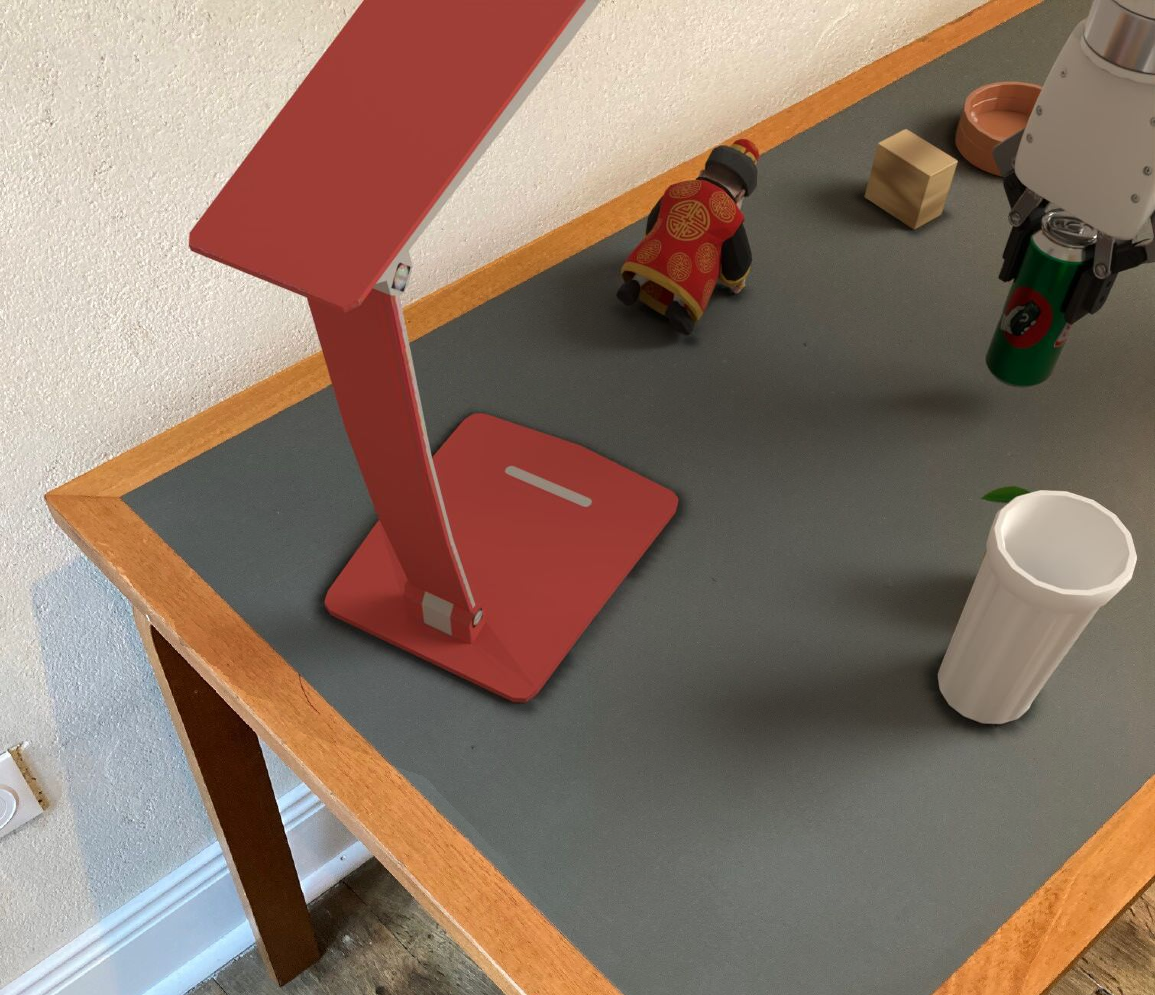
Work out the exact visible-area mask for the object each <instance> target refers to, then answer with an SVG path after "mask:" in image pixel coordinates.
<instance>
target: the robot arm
mask: <svg viewBox="0 0 1155 995" xmlns="http://www.w3.org/2000/svg"><path fill="white" fill-rule="evenodd" d="M1042 87H1043V88H1042V90H1041V92H1040V94H1039V96H1038V98H1037V101H1036V103H1035V106H1034V108H1033V110H1032V113H1031V115H1030V117H1029V120H1028V123H1027V125H1026V127H1024V128H1023V129H1021V130H1020V131H1018V132H1017V133H1015V134H1013V135H1012V136H1010V137H1009V138H1007V139H1005V140H1004V141H1002V142H1001V143H999V144H997V145H996V146H995V147H994V148H993V157H994V159H995V162H996V164H997V166H998V169H999V171H1000V174H1001V176H1000V177H1002V176H1003V184H1002V185H1003V186H1002V187H1003V189H1004V193H1005V195H1006V198H1007V201H1008V205H1009V208H1010V211H1009V212H1008V216H1007V217H1008V223H1009V224H1010V225H1011V226H1012V227H1011V230H1010V232H1009V235H1008V238H1007V241H1006V244H1005V247H1004V251H1003V253H1002V259H1003V263H1002V265H1001V268H1000V271H999V274H998V280H1000V281H1001V282H1003V283H1009V282H1011V281H1013V280H1014V277H1015V275H1016V272H1017V269H1018V266H1019V264H1020V261H1021V258H1022V256H1023V253H1024V250H1025V247H1026V245H1027V242H1028V239H1029V237H1030V234H1031V231H1032V229H1033V228H1034V226H1035V225H1037V224H1038V223H1039V222H1040V221H1041V220H1042V218H1043V216H1044V215H1045V214H1046V213H1047V212H1046V211H1047V209H1048V208H1049V207H1050V206H1051V204H1053V205H1054V206H1056V207H1057V208H1059V207H1060V208H1061V209H1063V210H1065V211H1066V212H1068V213H1070V214H1072V215H1073V216H1075V217H1077V218H1078V219H1080V220H1082V221H1084V222H1085V223H1087V224H1089V225H1090V226H1092V227H1094V228H1095V229H1097V230H1098V231H1097V239H1096V247H1095V255H1094V263H1093V266H1091V267H1090V268H1088V269H1087V270H1085V271H1084V272H1083V273H1082V275H1081V277H1080V279H1079V281H1078V284H1077V286H1076V288H1075V291H1074V293H1073V296H1072V298H1071V300H1070V303H1069V305H1068V307H1067V310H1066V312H1065V315H1064V318H1065V322H1067V323H1069V324H1070V325H1072V324H1073V325H1074V324H1075V323H1076V322H1078V321H1079V320H1081V319H1082V318H1084V317H1086V316H1087V315H1089V314H1090V315H1094V314H1095V313H1097V312H1098V311H1099V310H1101V309H1102V308H1103V306H1104V305H1105V304H1106V302H1107V299H1108V297H1109V295H1110V293H1111V290H1112V289H1113V286H1114V284H1115V282H1116V280H1117V277H1118V275H1119V273H1121V272H1124V271H1128V270H1130V269H1135V268H1138V267H1139V266H1141V265H1145V264H1152V263H1155V0H1093V1H1092V3H1091V6H1090V8H1089V12H1088V15H1087V16H1086V17H1085V18H1084V19H1082V20H1081V21H1079V22H1078V23H1077V24H1076V25H1075V26H1074V28H1073V30H1072V32H1071V33H1070V35H1069V36H1068V38H1067V40H1066V42H1065V43H1064V45H1063V47H1062V48H1061V50H1060V52H1059V54H1058V56H1057V57H1056V60H1055V61H1054V63H1053V64H1052V67H1051V69H1050V71H1049V73H1048V74H1047V77H1046V79H1045V81H1044V84H1043V85H1042ZM1149 219H1150V223H1151V224H1150V225H1151V229H1152V233H1153V238H1145V239H1141V240H1138V234H1139V232H1140V231H1141V229H1142V227H1143V226H1144V225H1145V224H1147V222H1148V221H1149ZM1137 240H1138V241H1137Z"/></svg>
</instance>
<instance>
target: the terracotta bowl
mask: <svg viewBox="0 0 1155 995" xmlns="http://www.w3.org/2000/svg"><path fill="white" fill-rule="evenodd" d="M1042 88H1043V85H1042V86H1040V85H1038V84H1035V83H1030V82H1029V83H1028V82H1023V81H997V82H993V83H989V84H988V83H987V84H984V85H982V86H981V87H980V86H979V87H978V88H976V89H974V90H972V91H971V93H970V94H968V96H967V97H966V98H965V99H964V103H963V106H962V110H961V113H960V116H959V119H958V123H957V126H956V131H955V135H954V143H955V146H956V148H957V150H958V152H959V154H960V155H961V156H962V157H963V158H964V159H965V160H966V161H967V162H969V164H971V165H972V166H974V167H976V168H977V169H980V170H982V171H983V172H987V173H989V174H991V175H995V176H998V177H1003V176H1001V174H1000V171H999V169H998V166H997V164H996V162H995V159H994V157H993V148H994V147H995V146H996V145H997V144H999V143H1001V142H1002V141H1004V140H1005V139H1007V138H1009V137H1010V136H1012V135H1013V134H1015V133H1017V132H1018V131H1020V130H1021V129H1023V128H1024V127H1026V125H1027V123H1028V120H1029V117H1030V115H1031V113H1032V110H1033V108H1034V106H1035V103H1036V101H1037V98H1038V96H1039V94H1040V92H1041V90H1042ZM1003 178H1004V177H1003Z"/></svg>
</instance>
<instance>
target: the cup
mask: <svg viewBox="0 0 1155 995" xmlns="http://www.w3.org/2000/svg"><path fill="white" fill-rule="evenodd" d="M987 536H988V538H987V541H986V544H985V548H986V549H987V552H986V554H985V553H984V554H985V557H984V556H983V558H984V559H983V558H982V561H981V564H980V567H979V569H978V572H977V574H976V577H975V579H974V582H973V584H972V587H971V588H970V592H969V594H968V597H967V599H966V601H965V604H964V606H963V610H962V612H961V614H960V617H959V619H958V621H957V624H956V627H955V630H954V632H953V634H952V636H951V639H950V642H949V644H948V646H947V649H946V651H945V654H944V657H943V659H942V661H941V663H940V667H939V668H938V673H937V681H938V687H939V691H940V693H941V695H942V696H943V698H944V699H945V701H946V702H947V704H948V706H950V707H951V708H952V709H953V710H955V711H956V712H957V713H959V714H960V715H961V716H963V717H965V718H967V719H970V720H973V721H976V722H978V723H980V724H991V725H1003V724H1007V723H1009V722H1012V721H1015V720H1019V718H1021V717H1022V716H1023V715H1024V714H1025V713H1026V712H1027V711H1028V710H1029V709H1030V708H1031V706H1032V703H1033V702H1034V701H1035V699H1036V698H1037V696H1038V695H1039V693H1040V692H1041V691H1042V689H1043V688H1044V687H1045V684H1046V683H1047V681H1048V680H1049V679H1050V677H1051V676H1052V675H1053V673H1054V672H1055V670H1056V669H1057V668H1058V666H1059V665H1060V663H1061V662H1062V661H1063V659H1064V658H1065V657H1066V656H1067V654H1068V653H1069V651H1070V650H1071V648H1072V647H1073V646H1074V644H1075V643H1076V641H1078V638H1079V637H1080V636H1081V635H1082V633H1083V632H1084V631H1085V629H1086V628H1087V626H1088V624H1089V623H1090V622H1091V620H1092V619H1093V618H1094V617H1095V615H1096V614H1097V612H1098V611H1099V609H1100V608H1102V607H1105V605H1106V604H1107V603H1108V602H1110V601H1111V600H1112V599H1113V598H1114V597H1115V596H1116V595H1117V594H1119V592H1120V591H1121V590H1122V589H1123V588H1124V587H1126V585H1127V584H1128V583H1129V582H1130V581H1131V580H1132V578H1133V575H1134V572H1135V571H1134V570H1135V568H1136V564H1137V560H1138V557H1137V552H1136V547H1135V544H1134V540H1133V536H1132V533H1131V532H1130V530H1129V529H1128V528H1127V527H1126V526H1125V525H1124V523H1123V522H1122V521H1121V520H1120V518H1119V517H1118V515H1116V514H1115V513H1113V512H1112V511H1110V510H1109V509H1107V507H1104V506H1103V505H1101V504H1100V503H1099V502H1097V501H1096V500H1094V499H1091V498H1088V497H1085V496H1083V495H1079V494H1076V493H1073V492H1070V491H1067V490H1066V491H1065V490H1044V489H1041V490H1040V489H1039V490H1036V491H1031V493H1028V494H1025V495H1021V496H1018V497H1016V498H1014V499H1012V500H1011V501H1010V502H1009V503H1005V505H1003V506H1002V507H1001V508H1000V509H999V510H998V511H996V514H995V516H994V519H993V521H992V524H991V526H990V528H989V533H988V535H987ZM986 549H985V550H986Z"/></svg>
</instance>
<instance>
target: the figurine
mask: <svg viewBox="0 0 1155 995" xmlns="http://www.w3.org/2000/svg"><path fill="white" fill-rule="evenodd" d="M759 158H760V151H759V148H758V147H757V146H756V144H755V143H754V141H751V140H749V139H747V138H739V139H736V140H734V142H732V144H730V145H727V144H723V145H722V144H721V145H718V146H715V147H714V148H712V150H711V151H710V153H709V155H708V157H707V159H706V161H705V164H704V169H701V170H700V172H699V174H698V177H696V178H695V179H693V180H683V181H679V182H676V183H673V184H670V185H669V186H668V187H667V188H666V189H665V191H664V193H663V194H662V196H661V197H660V198H659V199H658V201H657V202H656V203H655V204H654V206H653V207H652V208H651V210H650V213H649V214H648V216H647V220H646V226H645V230H644V237H643V239H642V240H641V241H640V242H639V243H638V245H636V247H635V248H634V249H633V250H632V251H631V252H630V253H629V254H628V256H627V258H626V260H625V261H624V263H623V264H622V267H621V270H620V272H621V278H622V281H623V283H622V284H621V285H620V287H619V288H618V290H617V291H616V293H615V297H616V299H618V300H619V301H620V302H621V303H622V304H624V305H625V306H626V307H627V306H628V307H632V306H634V305H635V303H636V302H637V301H638V300H639V301H641V302H642V303H643V304H645V305H647V306H648V307H649V308H650V309H652V310H654V311H655V312H657V313H659V314H661V315H663V316H665V317H666V318H667V319H669V323H670V325H671V326H672V328H673V329H674V330H675V331H676V332H678V333H679V334H682V335H684V336H690V335H691V332H692V331H693V330H694V326H695V324H696V323H698V322H699V321H700V319H701V318H702V316H703V315H704V313H705V312H706V308H707V306H708V303H709V301H710V299H711V297H712V294H713V291H714V289H715V287H716V285H717V281H719V282H720V283H721V284H723V285H724V286H727V287H728V288H729V289H730V290H732V291H733V293H734V294H738V293H739V294H740V292H741V291H742V289H743V288H744V287H746V278H747V277H748V275H749V273H750V270H751V267H752V263H753V254H752V253H753V252H752V249H751V245H750V242H749V238H748V235H747V231H746V227H745V226H744V222H745V221H746V218H745V216H744V214H743V212H742V211H741V208H742V205H743V200H744V198H749V197H750V196H751V195H752V194H753V193H754V191H755V190H756V188H757V186H758V167H757V163H758V161H759Z"/></svg>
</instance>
